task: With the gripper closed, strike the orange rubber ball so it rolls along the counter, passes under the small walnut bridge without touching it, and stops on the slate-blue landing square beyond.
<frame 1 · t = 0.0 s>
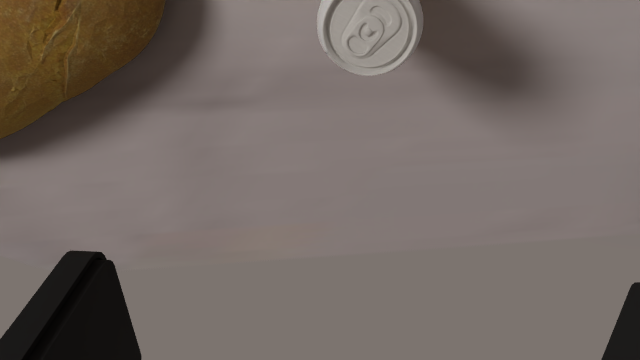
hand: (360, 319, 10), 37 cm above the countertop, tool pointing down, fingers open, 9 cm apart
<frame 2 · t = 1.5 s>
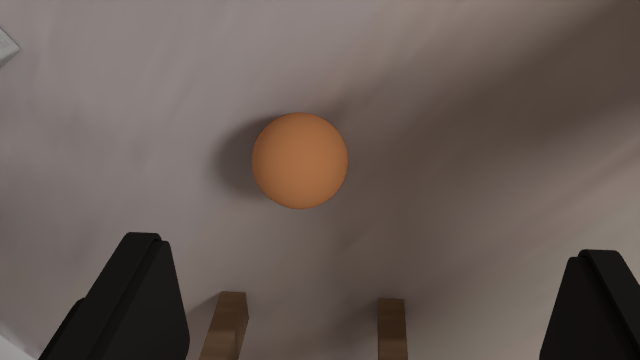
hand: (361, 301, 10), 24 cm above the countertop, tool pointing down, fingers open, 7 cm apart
bridge: (312, 308, 44), on the countertop
ball: (300, 160, 33), on the countertop
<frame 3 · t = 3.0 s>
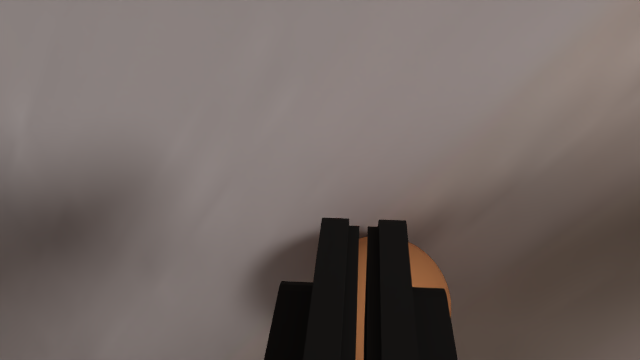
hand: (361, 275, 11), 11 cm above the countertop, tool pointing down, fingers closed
ball: (380, 304, 23), on the countertop
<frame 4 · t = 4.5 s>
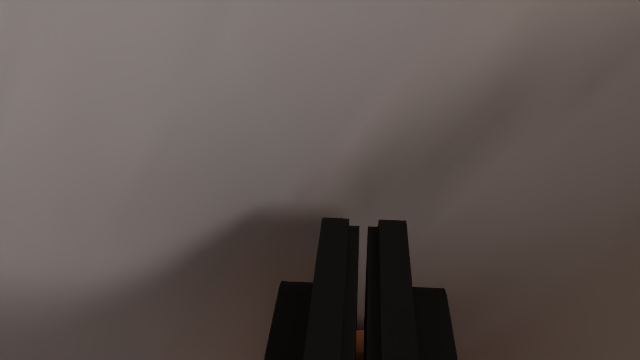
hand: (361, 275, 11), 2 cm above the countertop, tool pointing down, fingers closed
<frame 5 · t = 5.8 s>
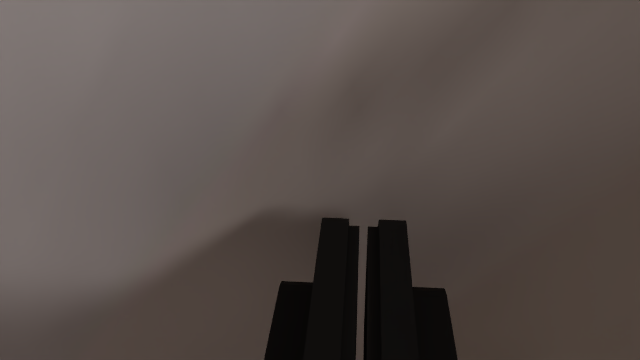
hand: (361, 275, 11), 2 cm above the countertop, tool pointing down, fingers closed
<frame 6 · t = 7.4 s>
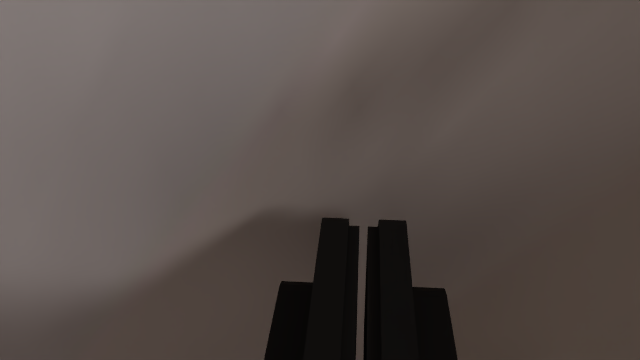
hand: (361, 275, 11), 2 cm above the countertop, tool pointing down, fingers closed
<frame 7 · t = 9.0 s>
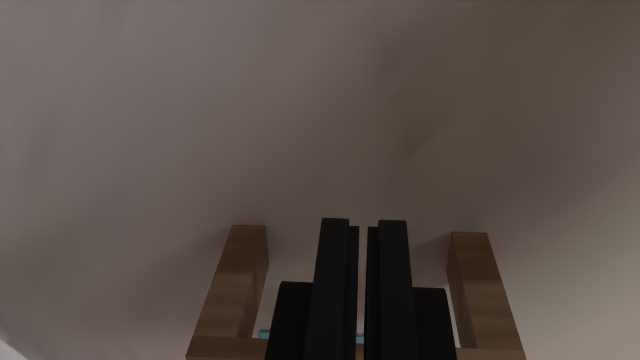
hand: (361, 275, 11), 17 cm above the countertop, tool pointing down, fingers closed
bridge: (356, 248, 32), on the countertop
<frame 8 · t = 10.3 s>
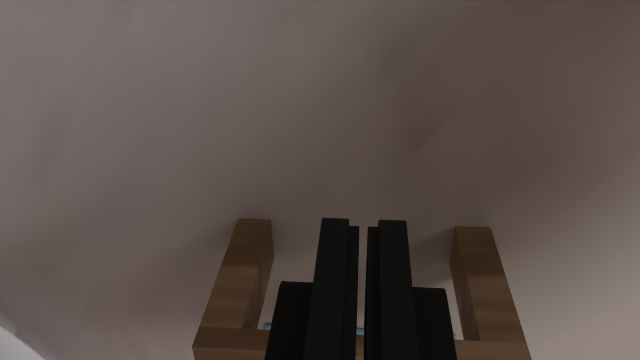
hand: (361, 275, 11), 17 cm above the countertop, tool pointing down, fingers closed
bridge: (361, 243, 32), on the countertop
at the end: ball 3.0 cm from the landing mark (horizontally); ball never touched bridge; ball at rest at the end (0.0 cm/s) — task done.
